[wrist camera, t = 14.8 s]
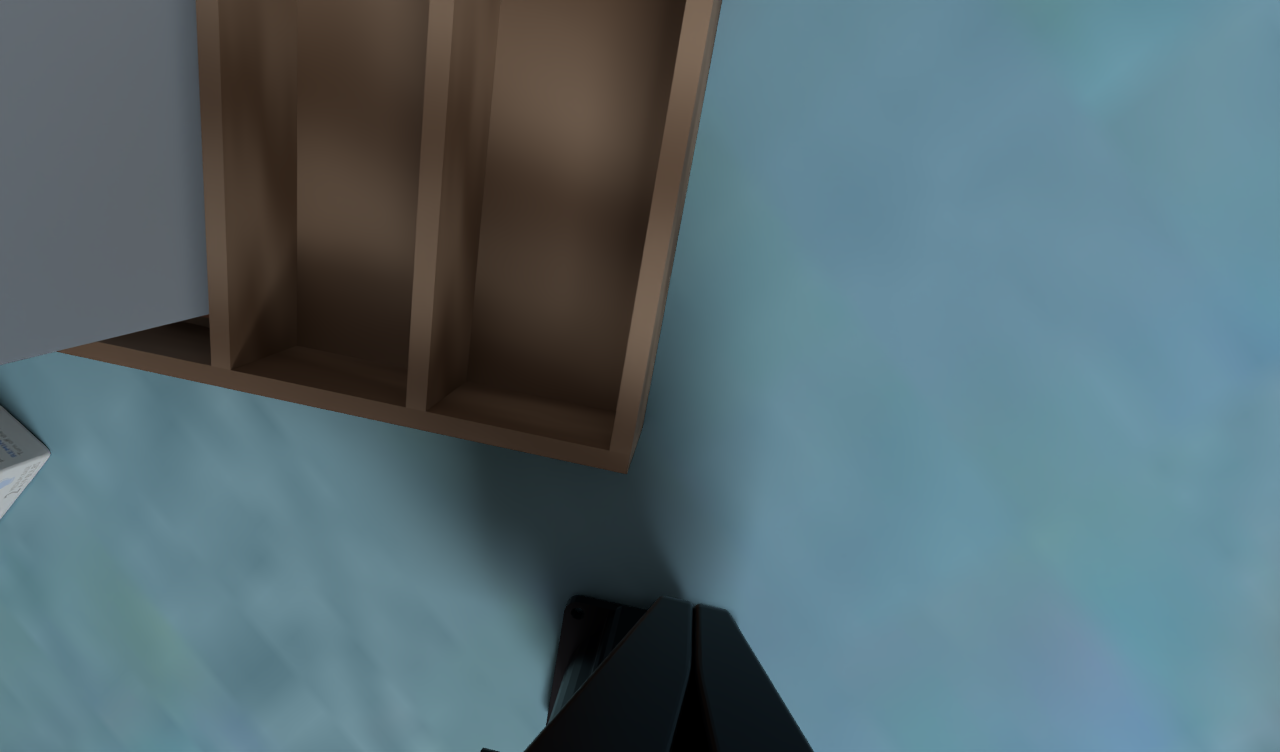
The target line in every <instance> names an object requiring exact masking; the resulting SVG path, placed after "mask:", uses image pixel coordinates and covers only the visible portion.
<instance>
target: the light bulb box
mask: <svg viewBox="0 0 1280 752" xmlns="http://www.w3.org/2000/svg"><path fill="white" fill-rule="evenodd" d="M50 454H51V453H50V451H49V449H48V448H47V447H46V446H45V445H44V444H43V443H42V442H40V441H39V440H38V439H37V438H36V437H35V436H34V435H33V434H32V433H30V432H29V431H28V430H27V429H26V428H25V427H24V426H23V425H22V424H21V423H20V422H19V421H17V420H16V419H15V418H14V417H13V416H12V415H11V414H10V413H9V412H8V411H6V410H5V409H4V408H3V407H2V406H1V405H0V519H1V518H2V517H3V515H4V514H5V513H6V511H7V510H8V509H9V508H10V506H11V505H12V504H13V503H14V501H15V500H16V499H17V497H18V496H19V495H20V494H21V492H22V491H23V490H24V489H25V487H26V486H27V485H28V484H29V482H30V481H31V480H32V479H33V477H34V476H35V475H36V474H37V472H38V471H39V470H40V468H41V467H42V466H43V465H44V463H45V462H46V461H47V459H48V458H49V456H50Z"/></svg>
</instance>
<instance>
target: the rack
mask: <svg viewBox="0 0 1280 752" xmlns="http://www.w3.org/2000/svg"><path fill="white" fill-rule="evenodd" d="M721 4H722V0H196V22H197V45H198V68H199V91H200V114H201V137H202V161H203V184H204V207H205V230H206V253H207V276H208V300H209V314H208V315H204V316H199V317H195V318H191V319H187V320H183V321H179V322H175V323H171V324H167V325H162V326H158V327H154V328H150V329H146V330H142V331H138V332H134V333H130V334H126V335H121V336H117V337H113V338H109V339H105V340H101V341H97V342H93V343H89V344H84V345H80V346H76V347H72V348H68V349H64V350H60V351H56V352H61V353H65V354H70V355H75V356H79V357H84V358H89V359H93V360H98V361H103V362H107V363H112V364H117V365H121V366H126V367H131V368H135V369H140V370H144V371H149V372H154V373H158V374H163V375H168V376H172V377H177V378H182V379H186V380H191V381H196V382H200V383H205V384H210V385H214V386H219V387H224V388H228V389H233V390H237V391H242V392H247V393H251V394H256V395H261V396H265V397H270V398H275V399H279V400H284V401H289V402H293V403H298V404H303V405H307V406H312V407H317V408H321V409H326V410H330V411H335V412H340V413H344V414H349V415H354V416H358V417H363V418H368V419H372V420H377V421H382V422H386V423H391V424H396V425H400V426H405V427H410V428H414V429H419V430H423V431H428V432H433V433H437V434H442V435H447V436H451V437H456V438H461V439H465V440H470V441H475V442H479V443H484V444H489V445H493V446H498V447H503V448H507V449H512V450H516V451H521V452H526V453H530V454H535V455H540V456H544V457H549V458H554V459H558V460H563V461H568V462H572V463H577V464H582V465H586V466H591V467H596V468H600V469H605V470H609V471H614V472H619V473H623V474H627V472H628V469H629V466H630V463H631V460H632V457H633V454H634V452H635V449H636V446H637V443H638V440H639V437H640V434H641V431H642V428H643V422H644V417H645V412H646V406H647V401H648V395H649V390H650V385H651V379H652V374H653V369H654V363H655V358H656V353H657V347H658V342H659V336H660V331H661V326H662V320H663V315H664V310H665V304H666V299H667V294H668V288H669V283H670V277H671V272H672V267H673V261H674V256H675V251H676V245H677V240H678V235H679V229H680V224H681V218H682V213H683V208H684V202H685V197H686V192H687V186H688V181H689V176H690V170H691V165H692V159H693V154H694V149H695V143H696V138H697V133H698V127H699V122H700V117H701V111H702V106H703V100H704V95H705V90H706V84H707V79H708V74H709V68H710V63H711V58H712V52H713V47H714V41H715V36H716V31H717V25H718V20H719V15H720V9H721Z"/></svg>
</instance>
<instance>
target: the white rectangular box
mask: <svg viewBox="0 0 1280 752" xmlns="http://www.w3.org/2000/svg"><path fill="white" fill-rule="evenodd" d="M208 314H209V300H208V276H207V253H206V230H205V207H204V184H203V161H202V137H201V114H200V91H199V68H198V45H197V22H196V0H0V365H2V364H6V363H10V362H15V361H19V360H23V359H27V358H31V357H35V356H39V355H43V354H47V353H52V352H56V351H60V350H64V349H68V348H72V347H76V346H80V345H84V344H89V343H93V342H97V341H101V340H105V339H109V338H113V337H117V336H121V335H126V334H130V333H134V332H138V331H142V330H146V329H150V328H154V327H158V326H162V325H167V324H171V323H175V322H179V321H183V320H187V319H191V318H195V317H199V316H204V315H208Z"/></svg>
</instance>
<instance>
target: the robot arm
mask: <svg viewBox="0 0 1280 752" xmlns="http://www.w3.org/2000/svg"><path fill="white" fill-rule="evenodd" d="M574 608H580V609H582V610H583V611H584V612H577V611H576V610H575V609H574ZM481 752H499V751H495V750H491V749H487V748H482V750H481ZM524 752H814V751H813V749H812V748H811V746H810V744H809V743H808V741H807V740H806V738H805V736H804V735H803V733H802V731H801V730H800V728H799V726H798V725H797V723H796V721H795V720H794V718H793V717H792V715H791V713H790V712H789V710H788V708H787V707H786V705H785V703H784V702H783V700H782V698H781V697H780V695H779V693H778V692H777V690H776V689H775V687H774V685H773V684H772V682H771V680H770V679H769V677H768V675H767V674H766V672H765V670H764V669H763V667H762V666H761V664H760V662H759V661H758V659H757V657H756V656H755V654H754V652H753V651H752V649H751V647H750V646H749V644H748V642H747V641H746V639H745V638H744V636H743V634H742V633H741V631H740V629H739V628H738V626H737V624H736V623H735V621H734V619H733V618H732V616H731V615H730V613H729V612H728V611H727V610H725V609H721V608H717V607H712V606H708V605H703V604H697V605H695V606H694V608H693V605H692V603H691V602H689V601H686V600H682V599H677V598H673V597H669V596H661V597H659V598H658V599H657V600H656V601H655V602H654V604H653V605H652V606H651V607H650V608H649V609H648V610H643V609H639V608H635V607H630V606H626V605H621V604H617V603H612V602H608V601H604V600H599V599H595V598H591V597H586V596H581V595H576V596H573V597H571V598H570V599H569V600H568V603H567V605H566V608H565V611H564V617H563V623H562V629H561V636H560V642H559V648H558V654H557V661H556V667H555V673H554V679H553V686H552V692H551V698H550V704H549V710H548V717H547V723H546V727H545V728H544V729H543V730H542V731H541V732H540V734H539V735H538V736H537V737H536V738H535V739H534V740H533V742H532V743H531V744H530V745H529V746H528V747H527V748H526V750H525V751H524Z"/></svg>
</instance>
